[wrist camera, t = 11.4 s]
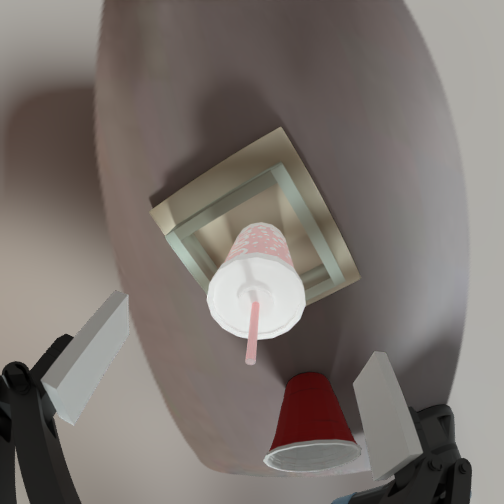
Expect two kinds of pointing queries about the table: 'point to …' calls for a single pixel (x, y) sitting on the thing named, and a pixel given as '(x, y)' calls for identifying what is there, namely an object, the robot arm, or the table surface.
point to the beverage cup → (257, 288)
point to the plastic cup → (311, 428)
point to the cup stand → (258, 216)
